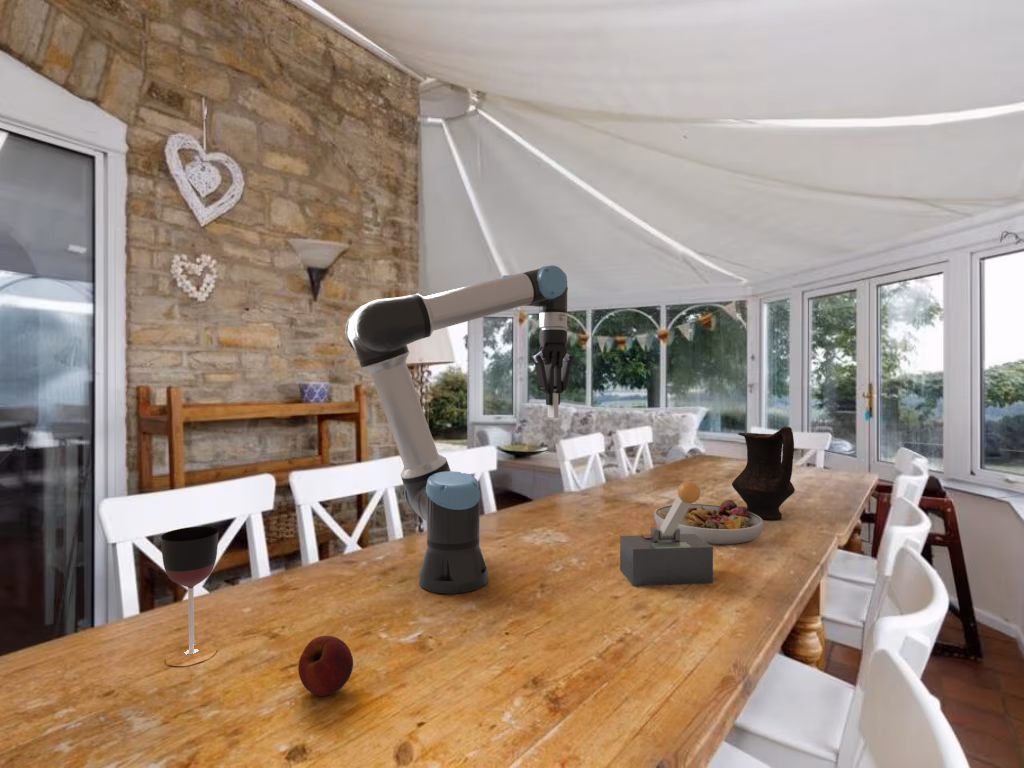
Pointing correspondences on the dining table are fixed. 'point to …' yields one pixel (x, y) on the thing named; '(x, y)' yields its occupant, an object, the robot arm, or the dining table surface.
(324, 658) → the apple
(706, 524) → the bowl
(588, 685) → the dining table surface
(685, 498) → the lever
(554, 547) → the dining table surface
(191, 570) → the wineglass
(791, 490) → the jug
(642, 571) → the switch box
